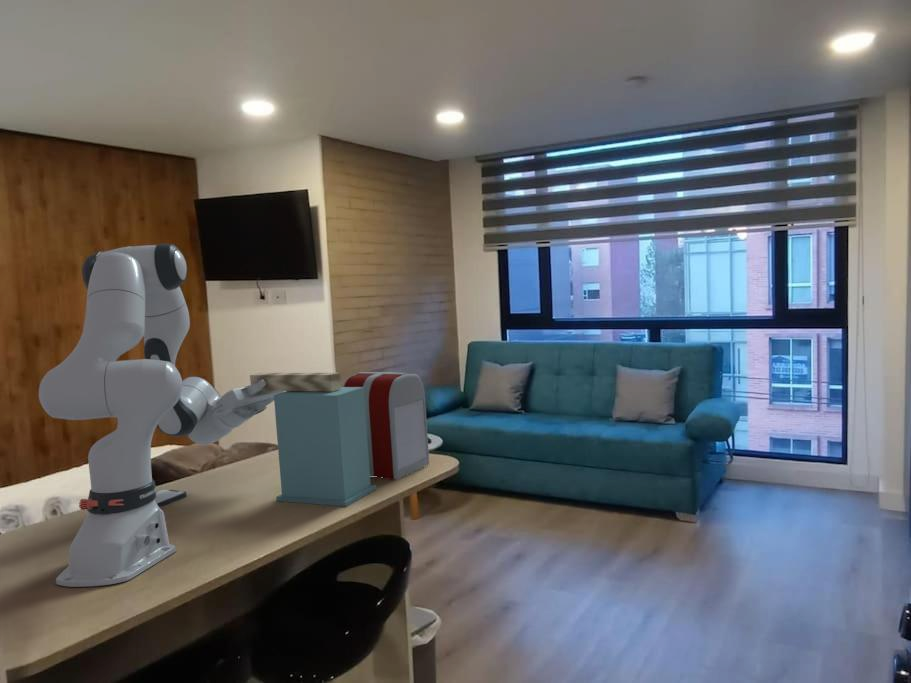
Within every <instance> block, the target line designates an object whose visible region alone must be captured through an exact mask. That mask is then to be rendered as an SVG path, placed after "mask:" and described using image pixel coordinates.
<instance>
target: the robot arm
mask: <svg viewBox="0 0 911 683" xmlns="http://www.w3.org/2000/svg"><path fill="white" fill-rule="evenodd" d="M182 252H183V251H182V250H181V249H180V248H178V247H177V246H176V245H175V244H170V243H157V244H151V245H149V244H148V245H136V246H132V245H130V246H129V245H128V246H123V247H117V248H114V249H111V250H106V251H98V252H95V253H92V254H90V255H88V256H87V257H86V258H85V260H84V261H83V263H82V267H81V276H82V281H83V284H84V286H85V288H86V289H87V293H86V305H85V307H86V308H85V316H84V322H83V328H82V333H81V336H80V339H79V341H78V342H77V344H76V346H75V347H74V349H73V350H72V352H70V354H69V355H68V356H66V358H65V359H64V360H63V361H62V362H60V363H59V364H57V365H56V366H54V367H53V368H52V369H50V370H48V371H47V372H46V374H45V375H44V376H43V378H42V379H41V381H40V383H39V388H38V400H39V403H40V405H41V407H42V408H43V410H44V412H45V413H47V415H48V416H49V417H52V418H53V419H61V420H72V421H83V420H84V421H85V420H93V419H94V420H95V419H96V420H97V419H104V418H105V419H106V418H117V427H116V429H115V430H113V431H112V432H110V433H109V434H107V435H105V436H103V437H101V438H100V439H99V440H97V441H96V442H95V443H94V444H92V446H91V448H90V449H89V452H88V454H87V455H88V456H87V460H88V468H89V469H88V471H89V478H90V481H89V482H90V490H89V494H88V497H87V498H81V499H80V500H79V503H78V507H79V509H80V511H85V510H86V511H87V515H86V517H85V519H84V520H83V523H82V524H81V526H80V528H79V530H78V531H77V533H76V535H75V536H74V539H73V540H72V542H71V544H70V546H69V552H68V562H69V563H68V565H67V567H66V568H65V569H63V571H62V572H61V573H60V574H58V576H57V577H56V578H55V584H56V585H58V586H63V587H73V588H74V587H75V588H78V587H79V588H80V587H83V588H84V587H85V588H86V587H99V586H108V585H114V584H115V585H116V584H119V583H124V582H127V581H129V580H131V579H133V578H135V577H136V576H138V575H139V574H141V573H143V572H144V571H146V570H148V569H149V568H151V567H153V566H155V565H156V564H158V563H160V562H161V561H162V560H164V559H166V558H167V557H169V556H171V555H172V554H174V553H175V552H177V550H176V546H175V545H174V544H172V543H170V540H169V539H170V538H169V535H168V529H167V523H166V519H165V518H166V517H165V512H164V511H163V510H162V509H161V507H159V506H158V505H157V503H156V501H155V498H156V492H157V486H156V481H155V480H154V479H153V477H152V475H153V473H152V458H151V457H152V455H151V454H152V440H153V437H154V433H155V430H156V428H158V429H159V431H161V432H162V433H163V434H165V435H167V436H170V437H174V438H182V437H186V436H188V438H189V439H190V440H191V441H192V442H193V443H195V444H197V445H201V446H207V445H211V444H214V443H216V442H218V441H220V440H221V439H223V438H225V436H227V435H229V434H230V433H231V432H232V430H233V429H236V428H238V427H240V426H241V425H243V424H244V423H245V422H247V421H248V420H250V419H251V418H252V417H254V416H256V415H258V414H261V413H262V412H264V411H265V410H266V409H267V407H268V406H269V405H270V404H271V403H274V395H275V394H279V393H282V392H285V391H259V390H261V389H262V388H265V387H266V386H268V382H267V380H266V379H262V380H260V381H259V382H257V383H255V384H253V385H251V384H249V385H247V386H246V385H245V386H242V387H237V388H232V389H230V390H229V391H227V392H226V393H224V394H223V395H220V393H219V392H218V391H217V389H216V388H215V387H214V386H213V385H212V384H211V383H210V381H208V380H207V379H205V378H203V377H200V376H195V375H193V376H192V375H191V376H187V377H186V378H184V379H182V375H181V373H180V371H179V370H178V368H177V366H176V361H177V360H176V359H177V355H178V352H179V351H180V348H181V345H182V344H183V341H184V339H185V338H186V337H187V334H188V332H189V330H190V328H191V327H190V326H191V322H190V321H191V320H190V314H189V313H190V312H189V309H188V305H187V303H186V299H185V297H184V293H183V291H182V289H181V287H182V285H183V284H184V283H185V281H186V279H187V274H188V273H187V272H188V271H187V270H188V268H187V261H186V259H185V257H184V254H183V253H182ZM142 339H143V341H144V342H143V351H144V352H143V353H144V356H143V357H144V358H142V359H140V358H139V359H127V360H118V359H119V358H120V357H121V356H122V355H124V354H125V353H126V352H128V351H130V350H132V349H134V348H135V347H136V346H138V344H139V343H140V342H141V341H142Z"/></svg>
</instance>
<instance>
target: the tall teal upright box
mask: <svg viewBox="0 0 911 683" xmlns="http://www.w3.org/2000/svg"><path fill="white" fill-rule="evenodd" d="M273 403H274V415H275V425H276V426H275V427H276V438H277V451H278V462H279V463H278V464H279V475H280V486H281V487H280V489H281V494H279V495H277V496H276V497H275V499H276V500H275V501H277V502H284V503H285V502H288V503H299V504H309V505H310V504H311V505H312V504H313V505H322V506H336V507H348V506H349V507H350V506H351V505H352V504H354V503H355V502H357V501H359V500H360V499H362V498H364V497H365V495H366V494H367V495H369V494H370V492H371V491H372V492H374V491H375V489H376V490H377V484H371V477H370V470H369V456H368V441H367V427H366V413H365V399H364V387H343V386H341V389H339V390H336V391H332V392H324V391H284V392H282V393H279V394H275V395H274V401H273ZM373 490H374V491H373ZM372 492H371V493H372ZM368 493H369V494H368ZM367 495H366V496H367ZM363 496H364V497H363Z"/></svg>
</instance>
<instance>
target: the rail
mask: <svg viewBox="0 0 911 683" xmlns="http://www.w3.org/2000/svg"><path fill="white" fill-rule="evenodd" d="M262 379H266V380H267V382H268V386H266V387H265V388H262V389H261V390H259V391H284V392H286V391H324V392H332V391H336V390H339V389H341V387H342V386H341V384H342V383H341V373H340V372H260V373H254V374H250V375H249V380H250V385H253V384H255V383H257V382H259V381H260V380H262Z"/></svg>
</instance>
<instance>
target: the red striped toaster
mask: <svg viewBox="0 0 911 683" xmlns="http://www.w3.org/2000/svg"><path fill="white" fill-rule="evenodd" d="M342 387H364V399H365V413H366V427H367V441H368V456H369V470H370V476H377V477H383V478H389V479H388V480H392V479H393V480H394V479H397V480H399V478H400V479H402V478H404V477H406V476H408V475H407V474H409V475H411V474H413V473H415V472H417V471H416V470H418V469H420V468H422V467H424V466H426V465H428V464H429V465H430V455H429V437H428V422H427V407H426V406H427V405H426V392H425V387H424V382H422V379H421V378H420V376H419V375H418V374H416V373H408V372H395V371H393V372H392V371H382V372H381V371H380V372H379V371H373V372H372V371H360V372H356V374H352V375H350V376H348V377H347V378H346V379H345V381H344V383H343V385H342ZM426 467H427V466H426ZM424 468H425V467H424ZM422 469H423V468H422ZM420 470H421V469H420ZM414 471H415V472H414ZM418 471H419V470H418ZM412 472H413V473H412ZM410 473H411V474H410ZM405 475H406V476H405ZM403 476H404V477H403ZM401 477H402V478H401ZM383 478H382V479H383Z"/></svg>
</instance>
